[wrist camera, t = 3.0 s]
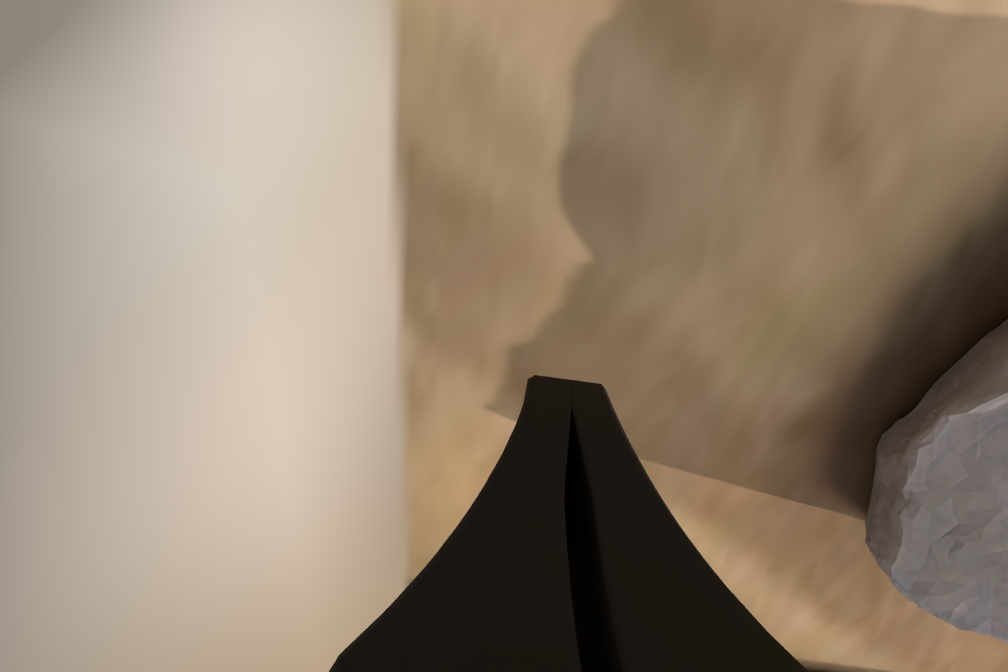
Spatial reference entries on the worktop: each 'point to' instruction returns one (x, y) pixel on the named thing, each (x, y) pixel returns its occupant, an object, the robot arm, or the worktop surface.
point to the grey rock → (949, 494)
